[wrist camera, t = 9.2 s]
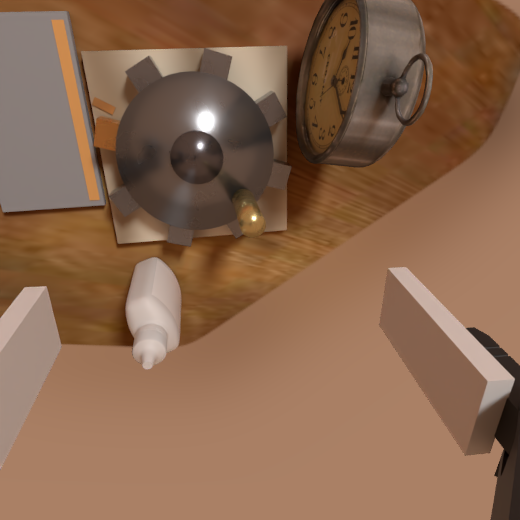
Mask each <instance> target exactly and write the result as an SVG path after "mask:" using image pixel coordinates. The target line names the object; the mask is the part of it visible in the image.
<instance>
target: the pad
mask: <svg viewBox="0 0 520 520" xmlns="http://www.w3.org/2000/svg"><path fill="white" fill-rule="evenodd" d="M0 204H1V207H2V210H3V212H15V211H29V210H43V209H57V208H71V207H85V206H99V205H105V204H106V200H105V195H104V189H103V184H102V179H101V174H100V169H99V164H98V159H97V154H96V149H95V146H94V138H93V133H92V128H91V123H90V118H89V113H88V108H87V103H86V98H85V93H84V87H83V82H82V77H81V72H80V67H79V62H78V57H77V52H76V47H75V42H74V36H73V31H72V26H71V21H70V16H69V12H67V11H51V12H0Z"/></svg>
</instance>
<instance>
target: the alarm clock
mask: <svg viewBox="0 0 520 520" xmlns="http://www.w3.org/2000/svg"><path fill="white" fill-rule="evenodd" d="M424 65H425V70H426V83H425V89H424V95H423V98H422V101H421V104H420V106H419V108H418V110H417V112H416V113H415V114H414V115H413V116H412V117H411V118H410V116H411V114H412V112H413V109H414V106H415V104H416V101H417V97H418V94H419V90H420V87H421V82H422V77H423V71H424ZM432 79H433V69H432V63H431V61H430V58H429V57H428V55H427V54H425V33H424V27H423V23H422V19H421V16H420V14H419V12H418V10H417V8H416V6H415V5H414V3H413V2H412V1H411V0H325V1H324V3H323V4H322V6H321V8H320V10H319V12H318V14H317V16H316V18H315V20H314V23H313V26H312V29H311V31H310V34H309V37H308V40H307V44H306V47H305V51H304V54H303V58H302V63H301V68H300V73H299V80H298V87H297V96H296V131H297V139H298V144H299V147H300V149H301V152H302V154H303V155H304V156H305V158H306V159H307V160H308V161H309V162H311V163H314V164H318V163H321V164H330V165H339V166H349V167H365V166H369V165H371V164H373V163H375V162H376V161H378V160H379V159H381V158H382V157H383V156H384V155H385V154H386V153H387V152H388V151H389V150H390V149H391V148H392V147H393V145H394V144H395V143H396V142H397V140H398V139H399V137H400V136H401V134H402V132H403V131H404V129H405V127H406V126H409V125H412V124H414V123H415V122H416V121H417V120H418V119H419V118H420V117H421V115H422V114H423V112H424V110H425V108H426V105H427V103H428V100H429V97H430V92H431V88H432Z"/></svg>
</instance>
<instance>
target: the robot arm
mask: <svg viewBox="0 0 520 520" xmlns="http://www.w3.org/2000/svg"><path fill="white" fill-rule="evenodd" d="M379 325H380V327H381V329H382V330H383V332H384V333H385V335H386V336H387V338H388V339H389V340H390V342H391V344H392V345H393V347H394V348H395V350H396V351H397V353H398V354H399V356H400V357H401V359H402V360H403V362H404V363H405V365H406V366H407V368H408V370H409V371H410V373H411V374H412V375H413V377H414V378H415V380H416V382H417V383H418V385H419V386H420V388H421V389H422V391H423V392H424V394H425V395H426V397H427V398H428V400H429V401H430V403H431V404H432V406H433V407H434V409H435V410H436V412H437V413H438V415H439V417H440V418H441V420H442V421H443V423H444V424H445V426H446V427H447V429H448V430H449V432H450V433H451V435H452V436H453V438H454V439H455V441H456V442H457V444H458V445H459V447H460V448H461V450H462V451H463V453H464V454H465V456H466V455H475V454H484V453H490V451H491V448H492V445H493V442H494V439H495V438H496V439H497V440H498V441H499V443H500V444H501V445H502V447H503V448H504V450H503V453H502V456H501V459H500V461H499V464H498V467H497V470H496V472H495V476H497V477H498V478H497V485H496V491H495V496H494V503H493V509H492V515H491V520H520V366H519V365H518V364H517V363H516V362H515V361H514V360H513V359H512V358H511V357H510V356H508V354H507V353H506V352H505V351H504V350H503V349H502V348H500V347H499V345H498V344H497V343H496V342H495V341H494V340H493V339H492V338H491V337H490V336H488V335H487V334H485V333H483V332H481V331H479V330H478V329H476V328H465V327H464V326H463V325H462V324H461V323H460V322H459V321H458V320H457V319H456V318H455V317H454V316H453V315H452V314H451V313H450V312H449V311H448V310H447V309H446V308H445V307H444V306H443V305H442V304H441V303H440V302H439V301H438V299H437V298H435V296H434V295H432V293H431V292H430V291H429V290H428V289H427V288H426V287H425V286H424V285H423V284H422V283H421V282H420V281H419V280H418V279H417V278H416V277H415V276H414V275H413V274H412V273H411V272H410V271H409V270H408V269H407V268H406V267H401V268H400V267H399V268H388V270H387V277H386V284H385V291H384V298H383V304H382V311H381V317H380V324H379ZM61 347H62V346H61V342H60V338H59V334H58V330H57V326H56V322H55V318H54V314H53V310H52V306H51V302H50V298H49V294H48V290H47V286H43V287H25V288H24V289H23V290H22V292H21V293H20V294H19V295H18V297H17V298H16V299H15V300H14V302H13V303H12V304H11V305H10V307H9V308H8V309H7V310H6V312H5V313H4V314H3V315H2V317H1V318H0V470H1V468H2V466H3V464H4V462H5V460H6V458H7V456H8V454H9V451H10V450H11V447H12V446H13V443H14V441H15V439H16V438H17V435H18V433H19V431H20V429H21V427H22V425H23V423H24V421H25V419H26V417H27V415H28V413H29V411H30V409H31V407H32V405H33V403H34V401H35V399H36V397H37V395H38V393H39V391H40V389H41V387H42V385H43V383H44V381H45V379H46V377H47V375H48V373H49V371H50V369H51V367H52V365H53V363H54V361H55V359H56V357H57V355H58V353H59V351H60V349H61Z"/></svg>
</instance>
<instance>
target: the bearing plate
mask: <svg viewBox="0 0 520 520" xmlns="http://www.w3.org/2000/svg"><path fill="white" fill-rule="evenodd" d="M206 49H210V50H213V51H216V52H220V53H223V54H226V55H229V56H232V61H231V65H230V70H229V75H228V79H227V80H228V81H230V82H232V83H234V84H235V85H237V86H238V87H240V88H241V89H242V90H244V91H245V92H246V93H247V94H248V95H249V96H250V97H251V98H252V99H253V100H254V101H255V100H257V99H259V98H260V97H262V96H263V95H265V94H266V93H268V92H270V91H273V92H275V94H276V96H277V98H278V100H279V102H280V104H281V105H282V107H283V109H284V111H285V113H286V115H287V46H264V47H227V48H206ZM203 51H204V48H190V49H153V50H116V51H81V54H82V59H83V64H84V69H85V74H86V80H87V85H88V90H89V95H90V101H91V106H92V111H93V116H94V121H95V127H96V119H97V118H98V117H100V116H103V117H107V118H111V119H115V120H119V121H121V118H122V116H123V114H124V112H125V110H126V108H127V107H128V105H129V104H130V102H131V101H132V100H133V98H134V97H135V96H136V95H137V94H138V93H139V92H138V91H137V89H136V88H135V86H134V85H133V83H132V82H131V80H130V79H129V77H128V76H127V74H126V73H125V71H126V70H128V69H129V68H131V67H132V66H134V65H135V64H137V63H138V62H140V61H141V60H143V59H144V58H146V57H148V56H151V57H152V59H153V60H154V62H155V64H156V65H157V67H158V68H159V70H160V72H161V73H162V75H163V76H167V75H169V74H173V73H178V72H184V71H199V72H200V66H201V61H202V56H203ZM269 128H270V131H271V135H272V140H273V149H274V158H273V159H276V160H281V161H285V162H287V117H285V118H284V119H282V120H281V121H279V122H277V123H276V124H274V125H272V126H271V127H269ZM100 153H101V158H102V163H103V168H104V174H105V179H106V184H107V189H108V194H109V195H110V193H111V192H112V190H114V189H116V188H117V187H119V186H120V185H122V184H124V183H123V181H122V178H121V175H120V173H119V170H118V165H117V160H116V151H112V150H108V149H104V148H100ZM109 200H110V205H111V210H112V215H113V221H114V226H115V231H116V236H117V241H118V244H122V243H135V242H147V241H159V240H167V237H168V231H169V226H170V225H169V224H166V223H164V222H162V221H160V220H158V219H156V218H154V217H153V216H152V215H150V214H149V213H147V212H146V211H145V210H144V209H143V208H142V207H140V208H139V209H137V210H135V211H134V212H132V213H130V214H129V215H127V216H126V217H124V215H123V214H122V213H121V212H120V210H119V209H118V208H117V207H116V205H115V204H114V203H113V201H112V200H111V199H110V198H109ZM257 204H258V206H259V208H260V211H261V213H262V215H263V217H264V219H265V222H266V228H265V231H264V232H269V231H281V230H287V184H286V187H285V190H282V189H277V188H273V187H269V186H266V188H265V190H264V192H263V194H262V195H261V197H260V198H259V200H258V201H257ZM232 234H233V233H232V232H231V230H230V229H229V227H228V226H227V224H226V225H223V226H220V227H216V228H212V229H205V230H194V234H193V238H196V237H208V236H220V235H232Z"/></svg>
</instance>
